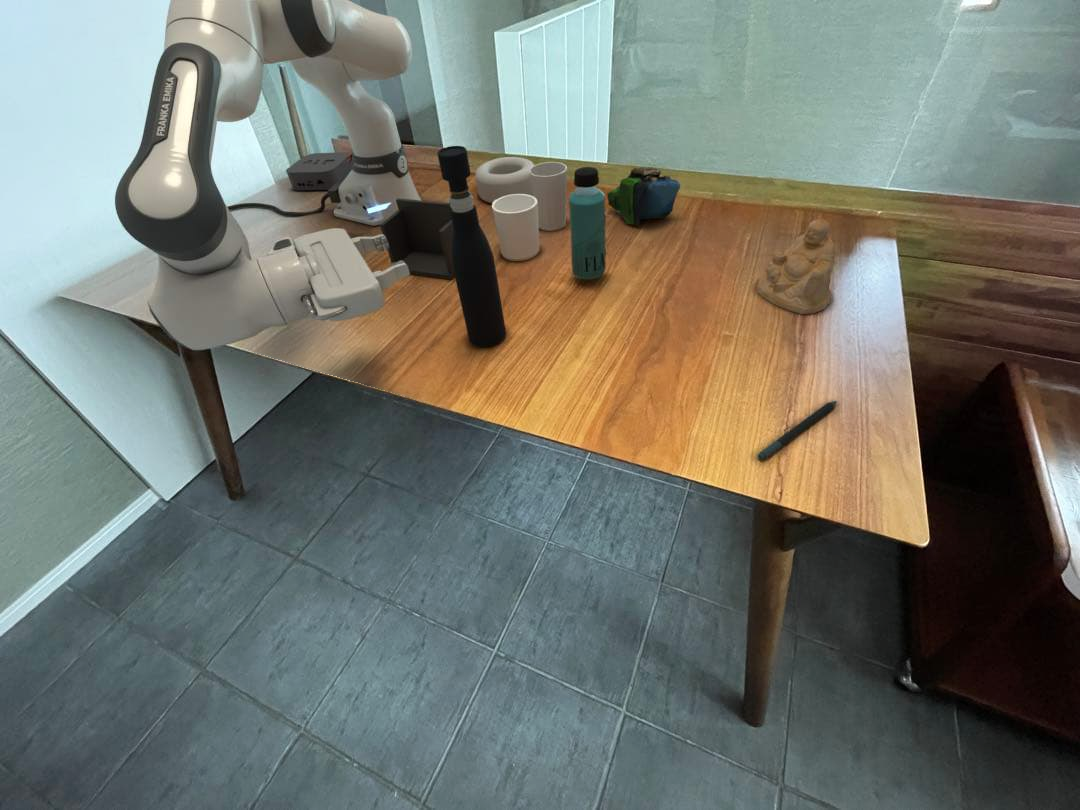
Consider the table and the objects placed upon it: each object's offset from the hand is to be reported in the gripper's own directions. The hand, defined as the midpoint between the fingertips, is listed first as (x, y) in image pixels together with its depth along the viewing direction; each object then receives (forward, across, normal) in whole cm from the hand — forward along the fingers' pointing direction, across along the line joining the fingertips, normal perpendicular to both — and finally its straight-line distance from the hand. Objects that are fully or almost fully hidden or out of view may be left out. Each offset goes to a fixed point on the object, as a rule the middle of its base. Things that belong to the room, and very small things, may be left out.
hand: (396, 253), depth 73 cm
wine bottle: (+11, 0, +19) cm, 22 cm away
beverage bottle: (+35, +6, +19) cm, 40 cm away
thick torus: (+40, +52, +19) cm, 68 cm away
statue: (+60, -20, +19) cm, 66 cm away
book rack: (+11, +29, +19) cm, 36 cm away
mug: (+28, +24, +19) cm, 42 cm away
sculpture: (+58, +22, +19) cm, 65 cm away
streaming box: (+3, +95, +19) cm, 97 cm away
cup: (+40, +30, +19) cm, 54 cm away
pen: (+36, -42, +19) cm, 59 cm away
